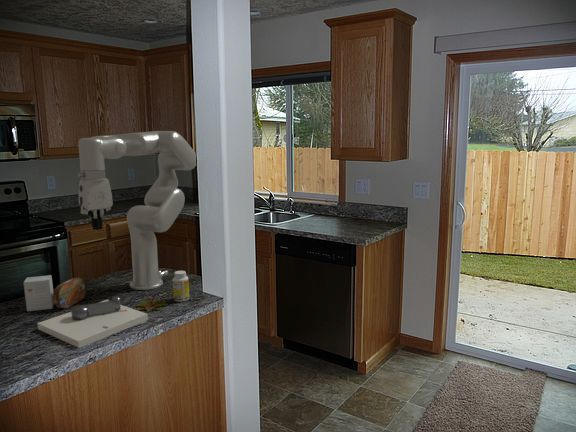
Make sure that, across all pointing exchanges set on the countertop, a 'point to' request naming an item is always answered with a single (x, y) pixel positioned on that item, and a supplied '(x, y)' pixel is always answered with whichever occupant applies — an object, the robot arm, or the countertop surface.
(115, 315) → the base
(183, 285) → the supplement bottle
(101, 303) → the grey knobbed bar
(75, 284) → the tin
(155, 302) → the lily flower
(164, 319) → the countertop surface
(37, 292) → the small box
